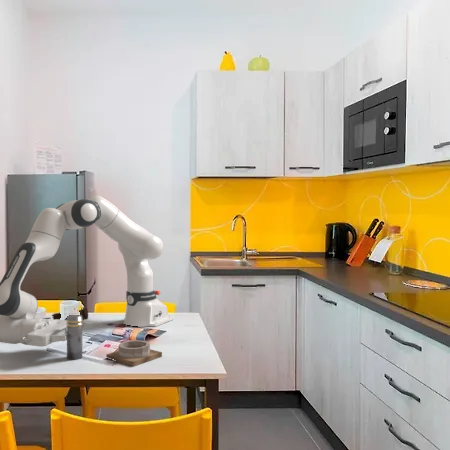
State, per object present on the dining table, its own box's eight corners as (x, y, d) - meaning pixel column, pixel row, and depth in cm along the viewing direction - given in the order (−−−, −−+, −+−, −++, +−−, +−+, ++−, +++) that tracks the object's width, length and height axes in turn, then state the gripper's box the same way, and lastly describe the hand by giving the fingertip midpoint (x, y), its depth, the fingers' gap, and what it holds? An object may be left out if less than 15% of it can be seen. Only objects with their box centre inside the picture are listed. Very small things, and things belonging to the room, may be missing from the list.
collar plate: (135, 349, 177) (134, 337, 177) (161, 356, 170) (161, 343, 170) (106, 358, 167) (106, 345, 167) (133, 366, 159) (133, 352, 159)
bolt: (52, 325, 219) (87, 320, 226) (53, 322, 215) (88, 317, 222) (50, 312, 222) (85, 308, 228) (52, 309, 218) (87, 304, 224)
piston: (76, 354, 172) (76, 313, 171) (85, 357, 169) (85, 316, 168) (63, 358, 168) (63, 316, 167) (73, 361, 164) (72, 318, 164)
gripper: (17, 330, 160) (57, 332, 158) (51, 316, 180) (87, 318, 178) (18, 350, 161) (57, 352, 158) (52, 333, 181) (87, 335, 178)
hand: (73, 334), depth 168 cm, fingers open, 8 cm apart
